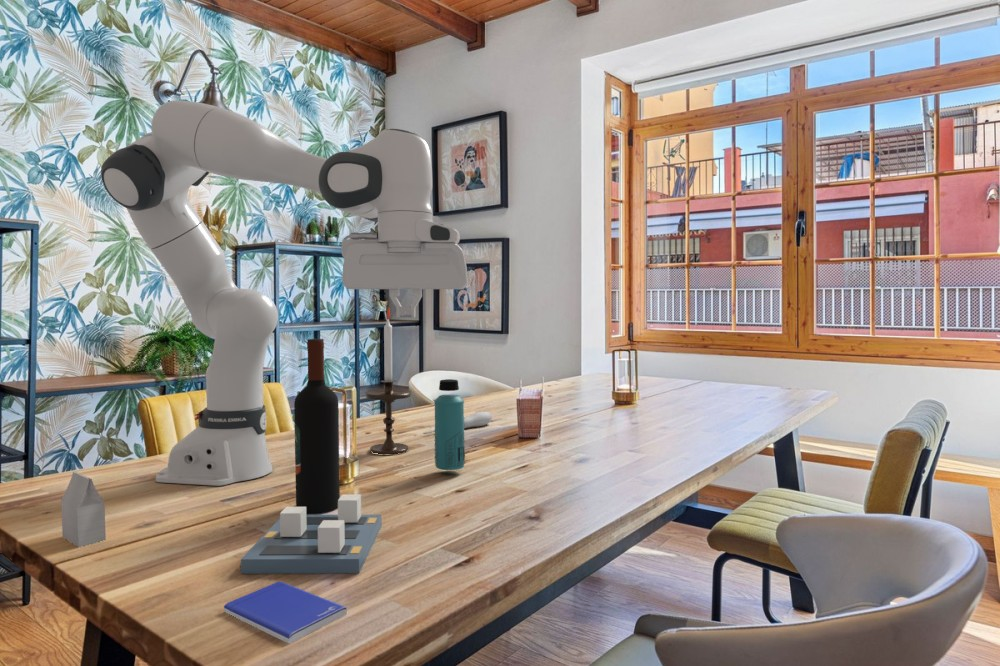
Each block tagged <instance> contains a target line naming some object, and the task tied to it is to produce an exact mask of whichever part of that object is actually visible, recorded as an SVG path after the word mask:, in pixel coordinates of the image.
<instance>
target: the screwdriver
mask: <svg viewBox="0 0 1000 666" xmlns="http://www.w3.org/2000/svg"><path fill="white" fill-rule="evenodd" d="M492 419H493V415H492V414H491V412H489V411H476V412H475V413H472V414H471V415H469V416H466V417H464V424H465V426H464V430H465V429H467V428H479V426H481V427H484V426H487V425H488V424H489V423H490V422H491V421H492ZM432 433H435V430H434V429H433V430H428V431H424V432H423V433H422V434H423V435H428V434H432Z"/></svg>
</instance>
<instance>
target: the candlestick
mask: <svg viewBox="0 0 1000 666" xmlns="http://www.w3.org/2000/svg"><path fill="white" fill-rule="evenodd" d="M390 309H391V307H390V306H388V308H387V309H386V311H387V313H386V323H385V325H383V341H384V343H383V347H384V348H383V349H384V350H383V352H384V353H383V354H384V358H383V359H384V364H383V365H384V369H383V370H384V380H380V383H384V384H383V387H384V388H376V389H371V390H367V391H365V398H366V399H370V400H380V401H382V402H383V403H385V417H384V418H383V420H382V422H383V424H385V428H384V429H383V432H385V436H386V437H385V440H384V442H383V443H378V444H374V445H371V446H370V448H369V452H370V451H372V452H373V453H378V454H398V453H403V452H405V453H407V452H408V451H409V446H408V445H407V444H406V443H405V444H404V443H400V442H398V443H397V442H394V440H393V432H395V429H394V428H393V425H394V423H395V421H396V420H395V417H392V414H393V413H392V410H393V409H392V408H393V407H392V405H393V404H392V403H394V402H395V401H396V400H400V399H401V400H402V399H407V398H411V397H412V390H410V389H406V388H394V383H395V382H397V379H396V380H394V379H393V325H391V323H390V316H391V310H390ZM407 450H408V451H407ZM406 451H407V452H406ZM403 454H404V453H403ZM398 455H399V454H398Z"/></svg>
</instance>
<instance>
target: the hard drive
mask: <svg viewBox="0 0 1000 666" xmlns="http://www.w3.org/2000/svg"><path fill="white" fill-rule="evenodd" d="M347 611H348V609H347V607H346V606H344V605H341V604H339V603H336V602H334V601H331V600H328V599H326V598H324V597H322V596H321V597H320V596H319V595H316V594H313V593H311V592H309V591H306V590H303V589H301V588H298V587H295V586H293V585H290V584H288V583H285V582H283V581H277V582H275V583H271V584H270V585H267V586H265V587H263V588H262V587H261V588H259V589H257V590H255V591H253V592H251V593H248V594H246V595H243V596H241V597H238V598H236V599H234V600H231V601H229V602H226V604H224V605H223V613H225V612H226V613H225V614H227V613H228V614H227V615H229V614H230V615H229V616H231V615H232V616H231V617H233V616H234V617H233V618H235V617H236V618H235V619H237V618H238V619H237V620H239V619H240V620H239V621H242V622H243V623H245V622H246V624H247V623H248V625H249V624H250V625H249V626H251V625H252V627H253V626H254V627H253V628H256V627H257V628H256V629H258V630H260V631H262V632H263V633H267V634H268V635H270V636H272V637H274V638H276V639H279V640H280V641H282V642H284V643H287V644H289V645H290V644H292V643H294V642H296V641H298V640H300V639H301V638H303V637H305V636H308V635H310V634H311V633H313V632H315V631H317V630H319V629H321V628H323V627H325V626H327V625H328V624H330V623H333V622H334V621H337V620H339V619H340V618H342V617H345V616H346V615H347V614H348V613H347Z"/></svg>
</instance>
